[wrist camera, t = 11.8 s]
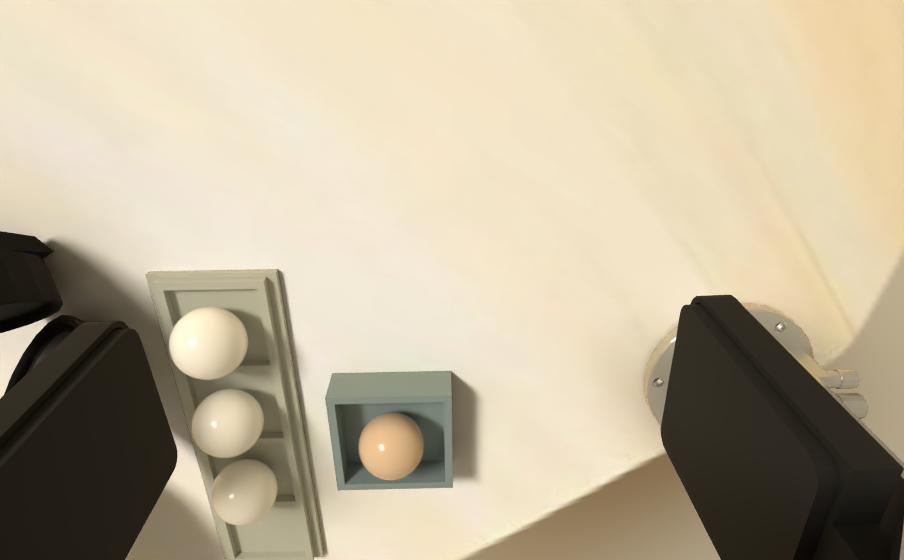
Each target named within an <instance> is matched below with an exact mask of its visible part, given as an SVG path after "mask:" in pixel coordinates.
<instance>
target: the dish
mask: <svg viewBox="0 0 904 560" xmlns="http://www.w3.org/2000/svg"><path fill="white" fill-rule="evenodd" d="M325 399H326V406H327V414H328V421H329V428H330V436H331V443H332V450H333V458H334V465H335V472H336V479H337V487H338V490H369V489H412V488H453V456H452V388H451V371H432V372H383V373H335V374H332V376H331V380H330V383H329V387H328V390H327V394H326V397H325ZM387 412H398V413H402V414H405V415H407V416H409V417H410V418H412V419H413V420H414V421H415V422H416V423H417V425H418V426H419V427H420V429H421V431H422V434H423V438H424V453H423V456H422V459H421V461H420V463H419V465H418V466H417V467H416V469H415V470H414V471H413V472H412V473H410V474H409V475H407V476H406V477H403V478H401V479H397V480H384V479H380V478H378V477H375V476H374V475H372V474H371V473H370V472H369V471H368V470H367V469H366V468H365V467H364V465H363V463H362V461H361V459H360V455H359V447H358V445H359V439H360V435H361V433H362V431H363V429H364V427H365V426H366V425H367V423H368V422H369V421H370V420H372V419H373V418H374V417H376V416H378V415H380V414H383V413H387Z"/></svg>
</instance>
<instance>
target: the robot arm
mask: <svg viewBox="0 0 904 560" xmlns="http://www.w3.org/2000/svg"><path fill="white" fill-rule="evenodd" d="M858 385H859V376H858V374H857V372H856V371H854V370H833V371H825V369H823V368H821V367H820V366H819V365H818V364H817V363H816V362H815V361H814V360H813V355H812V348H811V346H810V343H809V340H808V338H807V337H806V335H805V334H804V332H803V331H802V330H801V328H800V327H799V326H798V325H797V324H795V323H794V322H793V321H792V320H791V319H790V318H789V317H787V316H785V315H784V314H782V313H781V312H779V311H777V310H774V309H772V308H769V307H766V306H761V305H755V304H741V303H740V302H739V301H738V300H737V299H736V298H735V297H733V296H732V295H713V296H696V297H695V298H693V300H692V302H691V304H690V305H684V306H683V307H682V309H681V312H680V317H679V323H678V327H676V328H675V329H673V330H672V331H671V332H670V333H669V334H668V335H667V336H666V337H665V338H664V339H663V340H662V341H661V343H660V344H659V345H658V347H657V348H656V350H655V351H654V352H653V354H652V356H651V358H650V360H649V363H648V365H647V368H646V372H645V376H644V393H645V397H646V401H647V404H648V406H649V408H650V410H651V412H652V414H653V415H654V417H655V418H656V419H657V421H658V422H659V424H661V437H662V442H663V445H664V448H665V450H666V452H667V454H668V455H669V458H670V460H671V462H672V464H673V466H674V467H675V470H676V472H677V474H678V476H679V477H680V479H681V481H682V483H683V485H684V487H685V489H686V491H687V493H688V495H689V497H690V499H691V501H692V503H693V505H694V507H695V509H696V511H697V513H698V515H699V517H700V519H701V521H702V523H703V525H704V527H705V529H706V531H707V533H708V535H709V537H710V539H711V541H712V543H713V545H714V546H715V549H716V550H717V552H718V554H719V556H720V558H721V560H904V463H903V462H902V461H901V460H900V459H899V458H898V457H897V456H896V455H895V454H894V453H893V452H892V451H891V450H890V449H889V448H888V447H887V446H886V445H885V444H884V443H883V442H882V441H881V440H880V439H879V438H878V437H877V436H876V435H875V434H874V433H873V432H872V431H871V430H870V429H869V428H868V427H867V426H866V425H865V424H864V423H863V422H862V421H861V420H860V419H862V418H864V417H865V416H866V414H867V410H868V407H867V403H866V400H865V399H864V397H863V396H862V395H860V394H859V393H836V394H834V393H833V392H832V391H831V390H830V389H829V388H836V389H844V388H857V386H858ZM176 462H177V448H176V444H175V441H174V438H173V436H172V433H171V430H170V427H169V424H168V421H167V418H166V415H165V412H164V409H163V406H162V403H161V400H160V397H159V394H158V391H157V388H156V385H155V382H154V379H153V376H152V373H151V370H150V367H149V364H148V361H147V358H146V355H145V352H144V349H143V346H142V343H141V340H140V337H139V335H138V333H137V332H136V331H135V330H133V329H129V328H128V326H127V325H126V324H125V323H123V322H121V321H108V322H87V323H83V324H81V325H79V326H78V327H77V328H76V329H75V330H74V331H73V332H72V333H71V334H70V335H68V336H67V337H66V338H65V339H64V340H63V341H62V342H61V343H60V344H59V345H58V346H57V347H56V348H54V349H53V350H52V351H51V352H50V353H49V354H48V355H47V356H46V357H45V358H44V359H43V360H42V361H40V362H39V363H38V364H37V365H36V366H35V367H34V368H33V369H32V370H31V371H30V372H29V373H28V374H26V375H25V376H24V377H23V378H22V379H21V380H20V381H19V382H18V383H17V384H16V385H15V386H14V387H12V388H11V389H10V390H9V391H8V392H7V393H6V394H5V395H4V396H3V397H2V398H1V399H0V560H125V558H126V557H127V555H128V553H129V551H130V549H131V547H132V546H133V544H134V542H135V540H136V538H137V537H138V535H139V533H140V531H141V529H142V527H143V526H144V524H145V522H146V520H147V518H148V517H149V515H150V513H151V511H152V509H153V507H154V506H155V504H156V502H157V500H158V498H159V496H160V495H161V493H162V491H163V489H164V487H165V486H166V484H167V482H168V480H169V478H170V476H171V475H172V473H173V471H174V469H175V466H176Z"/></svg>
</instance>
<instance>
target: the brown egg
mask: <svg viewBox="0 0 904 560" xmlns="http://www.w3.org/2000/svg"><path fill="white" fill-rule="evenodd" d="M358 447H359V455H360V459H361V461H362V463H363V465H364V467H365V468H366V469H367V470H368V471H369V472H370V473H371V474H372V475H374V476H375V477H378V478H380V479H384V480H397V479H401V478H403V477H406V476H407V475H409V474H410V473H412V472H413V471H414V470H415V469H416V467H417V466H418V465H419V463H420V461H421V459H422V456H423V453H424V438H423V434H422V431H421V429H420V427H419V426H418V425H417V423H416V422H415V421H414V420H413V419H412V418H410V417H409V416H407V415H405V414H402V413H398V412H387V413H383V414H380V415H378V416H376V417H374V418H373V419H372V420H370V421H369V422H368V423H367V425H366V426H365V427H364V429H363V431H362V433H361V435H360V439H359V445H358Z"/></svg>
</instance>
